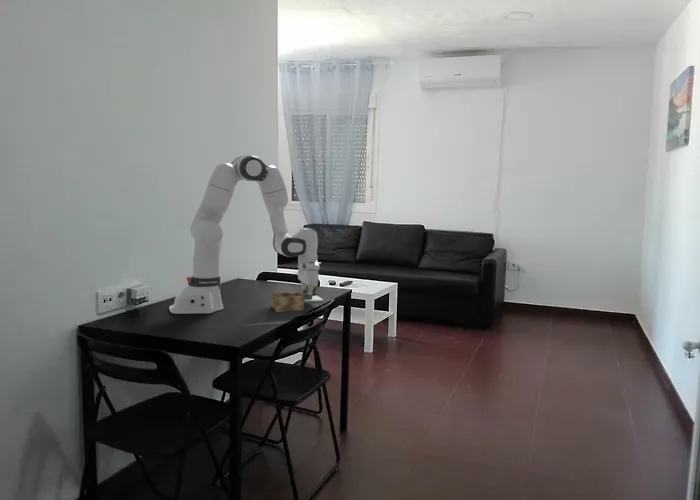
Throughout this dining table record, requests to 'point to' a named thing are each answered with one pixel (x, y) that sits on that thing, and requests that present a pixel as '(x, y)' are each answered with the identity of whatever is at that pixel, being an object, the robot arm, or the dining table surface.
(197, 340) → the dining table surface
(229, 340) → the dining table surface
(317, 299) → the lid
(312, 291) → the potato
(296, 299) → the box
